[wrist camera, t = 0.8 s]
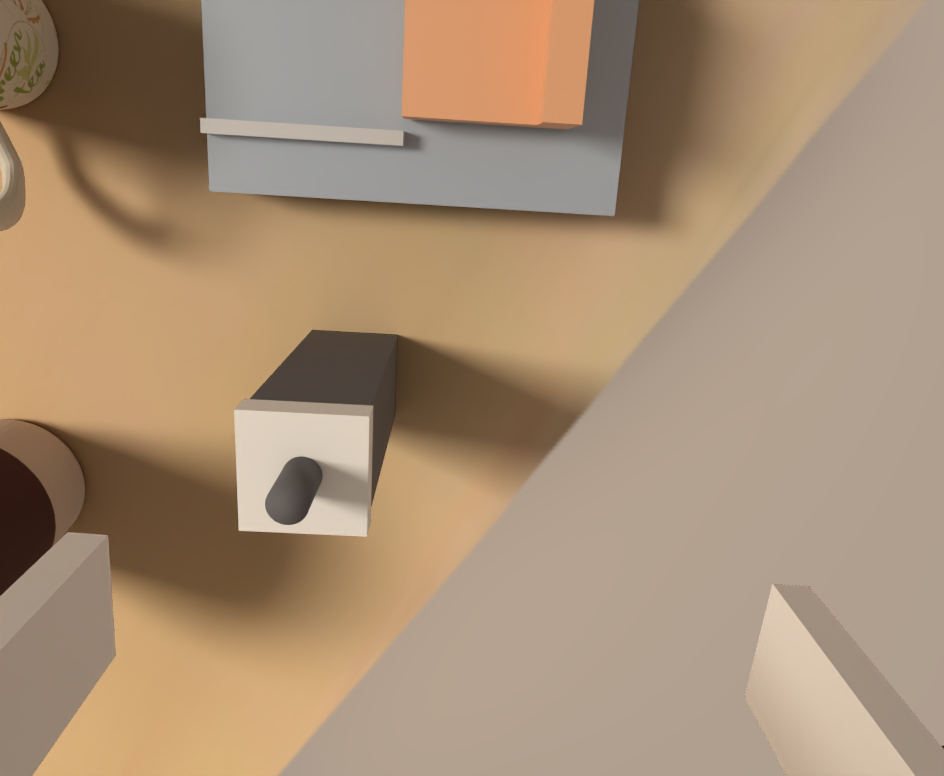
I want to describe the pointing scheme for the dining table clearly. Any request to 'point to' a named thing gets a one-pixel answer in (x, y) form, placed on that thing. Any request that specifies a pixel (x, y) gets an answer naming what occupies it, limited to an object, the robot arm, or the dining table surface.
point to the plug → (317, 436)
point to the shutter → (496, 61)
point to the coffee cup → (34, 496)
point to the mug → (21, 86)
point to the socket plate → (392, 114)
